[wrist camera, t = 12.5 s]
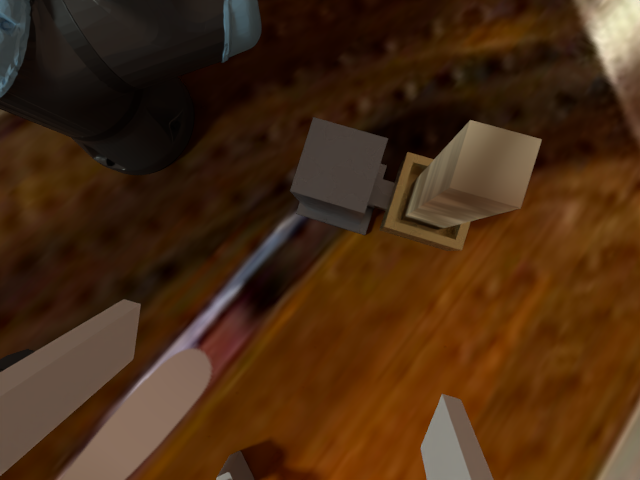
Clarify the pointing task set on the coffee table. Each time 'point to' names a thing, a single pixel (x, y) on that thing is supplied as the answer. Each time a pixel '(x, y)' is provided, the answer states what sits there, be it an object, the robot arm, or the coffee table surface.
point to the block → (473, 177)
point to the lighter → (235, 469)
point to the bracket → (361, 185)
